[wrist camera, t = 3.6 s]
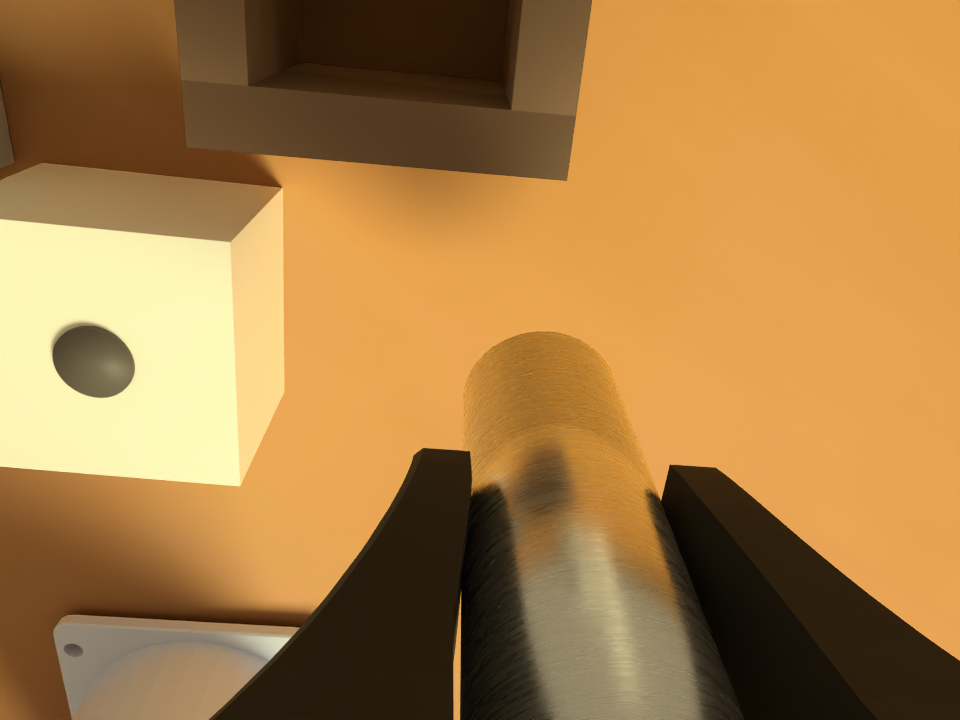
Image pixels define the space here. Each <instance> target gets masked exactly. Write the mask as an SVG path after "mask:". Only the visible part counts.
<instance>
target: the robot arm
mask: <svg viewBox="0 0 960 720" xmlns="http://www.w3.org/2000/svg"><path fill="white" fill-rule="evenodd" d="M471 488H472V467H471V456H470V451H458V450H443V449H428V448H423V449H421V450H420V451H419V452H417V453H416V454H415V455H414V456H413V460H412V463H411V466H410V468H409V471H408V473H407V475H406V478H405V480H404V482H403V484H402V486H401V488H400V489H399V491H398V493H397V495H396V497H395V498H394V500H393V502H392V504H391V506H390V507H389V509H388V511H387V512H386V514H385V515H384V517H383V518H382V520H381V521H380V523H379V525H378V526H377V528H376V529H375V531H374V532H373V534H372V535H371V537H370V539H369V540H368V542H367V543H366V545H365V546H364V548H363V549H362V550H361V552H360V553H359V555H358V556H357V557H356V559H355V560H354V561H353V562H352V564H351V565H350V566H349V568H348V569H347V570H346V572H345V573H344V574H343V576H342V577H341V578H340V580H339V581H338V582H337V584H336V585H335V586H334V588H333V589H332V590H331V591H330V593H329V594H328V595H327V597H326V598H325V599H324V600H323V601H322V603H321V604H320V605H319V606H318V607H317V609H316V610H315V611H314V612H313V613H312V615H311V616H310V617H309V618H308V619H307V620H306V621H305V623H304V624H303V625H302V626H301V627H283V626H266V625H248V624H230V623H213V622H195V621H178V620H160V619H143V618H125V617H107V616H90V615H67V616H65V617H62V618H61V620H60V621H59V622H58V624H57V625H56V627H55V628H54V630H53V636H54V641H55V646H56V650H57V655H58V659H59V664H60V668H61V673H62V677H63V682H64V686H65V691H66V695H67V700H68V704H69V709H70V713H71V718H72V720H453V660H454V653H455V645H456V635H457V625H458V615H459V605H460V596H461V582H462V572H463V563H464V555H465V547H466V537H467V527H468V517H469V507H470V498H471ZM661 503H662V506H663V508H664V511H665V514H666V516H667V519H668V521H669V524H670V527H671V529H672V532H673V535H674V537H675V540H676V542H677V545H678V548H679V550H680V553H681V555H682V558H683V561H684V563H685V566H686V568H687V571H688V574H689V576H690V579H691V581H692V584H693V587H694V589H695V592H696V594H697V597H698V600H699V602H700V605H701V607H702V610H703V613H704V615H705V618H706V621H707V623H708V626H709V628H710V631H711V634H712V636H713V639H714V641H715V644H716V647H717V649H718V652H719V654H720V657H721V660H722V662H723V665H724V667H725V670H726V673H727V675H728V678H729V680H730V683H731V686H732V688H733V691H734V693H735V696H736V699H737V701H738V704H739V706H740V709H741V712H742V714H743V717H744V720H960V661H959V660H958V659H956V658H955V657H953V656H952V655H950V654H949V653H948V652H946V651H945V650H943V649H942V648H940V647H939V646H938V645H936V644H935V643H933V642H932V641H931V640H929V639H928V638H926V637H925V636H924V635H922V634H921V633H919V632H918V631H917V630H915V629H914V628H913V627H911V626H910V625H909V624H907V623H906V622H905V621H903V620H902V619H901V618H900V617H898V616H897V615H896V614H894V613H893V612H892V611H890V610H889V609H888V608H886V607H885V606H884V605H882V604H881V603H880V602H878V601H877V600H876V599H874V598H873V597H872V596H870V595H869V594H868V593H867V592H865V591H864V590H863V589H862V588H860V587H859V586H858V585H857V584H855V583H854V582H853V581H852V580H850V579H849V578H848V577H846V576H845V575H844V574H843V573H842V572H840V571H839V570H838V569H837V568H835V567H834V566H833V565H832V564H831V563H829V562H828V561H827V560H826V559H824V558H823V557H822V556H821V555H820V554H818V553H817V552H816V551H815V550H814V549H812V548H811V547H810V546H809V545H808V544H807V543H805V542H804V541H803V540H802V539H801V538H799V537H798V536H797V535H796V534H795V533H794V532H792V531H791V530H790V529H789V528H788V527H787V526H785V525H784V524H783V523H782V522H781V521H780V520H778V519H777V518H776V517H775V516H774V515H773V514H771V513H770V512H769V511H768V510H767V509H766V508H764V507H763V506H762V505H761V504H760V503H759V502H757V501H756V500H755V499H754V498H753V497H752V496H750V495H749V494H748V493H747V492H746V491H744V490H743V489H742V488H741V487H740V486H738V485H737V484H736V483H735V482H734V481H732V480H731V479H730V478H729V477H727V476H726V475H725V474H723V473H722V472H721V471H719V470H718V469H717V468H711V467H696V466H682V465H670V467H669V471H668V475H667V479H666V483H665V488H664V492H663V496H662V500H661Z"/></svg>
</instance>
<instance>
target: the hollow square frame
mask: <svg viewBox="0 0 960 720" xmlns="http://www.w3.org/2000/svg"><path fill="white" fill-rule="evenodd" d="M174 4H175V16H176V28H177V40H178V53H179V65H180V77H181V89H182V101H183V113H184V126H185V138H186V148H197V149H208V150H220V151H231V152H243V153H254V154H265V155H277V156H288V157H300V158H311V159H323V160H334V161H345V162H357V163H368V164H380V165H391V166H403V167H414V168H425V169H437V170H448V171H460V172H471V173H483V174H494V175H505V176H517V177H528V178H540V179H551V180H563V181H567V176H568V169H569V162H570V155H571V147H572V140H573V133H574V126H575V119H576V112H577V105H578V97H579V90H580V83H581V76H582V69H583V62H584V55H585V48H586V40H587V33H588V26H589V19H590V12H591V5H592V0H510V2H509V12H508V22H507V33H506V43H505V54H504V64H503V74H502V81H492V80H481V79H470V78H460V77H449V76H438V75H428V74H417V73H406V72H396V71H385V70H374V69H364V68H353V67H342V66H332V65H321V64H310V63H302V53H301V0H174Z"/></svg>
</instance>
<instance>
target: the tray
mask: <svg viewBox="0 0 960 720" xmlns="http://www.w3.org/2000/svg"><path fill="white" fill-rule="evenodd" d="M14 163H15V162H14V156H13V151H12V145H11V140H10V134H9V129H8V124H7V118H6V113H5V107H4V102H3V96H2V91H1V85H0V169H1V168H3V167H6V166H9V165H11V164H14Z"/></svg>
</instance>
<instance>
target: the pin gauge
mask: <svg viewBox="0 0 960 720" xmlns="http://www.w3.org/2000/svg"><path fill="white" fill-rule="evenodd" d="M463 451H470V456H471V467H472V488H471V498H470V507H469V517H468V527H467V537H466V547H465V555H464V563H463V572H462V582H461V690H460V720H744V717H743V714H742V712H741V709H740V706H739V704H738V701H737V699H736V696H735V693H734V691H733V688H732V686H731V683H730V680H729V678H728V675H727V673H726V670H725V667H724V665H723V662H722V660H721V657H720V654H719V652H718V649H717V647H716V644H715V641H714V639H713V636H712V634H711V631H710V628H709V626H708V623H707V621H706V618H705V615H704V613H703V610H702V607H701V605H700V602H699V600H698V597H697V594H696V592H695V589H694V587H693V584H692V581H691V579H690V576H689V574H688V571H687V568H686V566H685V563H684V561H683V558H682V555H681V553H680V550H679V548H678V545H677V542H676V540H675V537H674V535H673V532H672V529H671V527H670V524H669V521H668V519H667V516H666V514H665V511H664V508H663V506H662V503H661V501H660V498H659V495H658V493H657V490H656V488H655V485H654V482H653V480H652V477H651V475H650V472H649V469H648V467H647V464H646V462H645V459H644V456H643V454H642V451H641V449H640V446H639V443H638V441H637V438H636V436H635V433H634V430H633V428H632V425H631V422H630V420H629V417H628V415H627V412H626V409H625V407H624V404H623V402H622V399H621V396H620V394H619V391H618V389H617V386H616V383H615V381H614V378H613V376H612V373H611V371H610V369H609V367H608V365H607V364H606V362H605V361H604V360H603V358H602V357H601V356H600V355H599V354H598V353H597V352H596V351H595V350H594V349H593V348H591V347H590V346H589V345H587V344H586V343H584V342H582V341H580V340H578V339H576V338H574V337H571V336H568V335H564V334H561V333H554V332H531V333H525V334H521V335H517V336H514V337H512V338H509V339H507V340H505V341H503V342H501V343H499V344H497V345H496V346H494V347H493V348H491V349H490V350H489V351H488V352H487V353H485V354H484V355H483V356H482V357H481V359H480V360H479V361H478V362H477V363H476V365H475V366H474V368H473V369H472V371H471V373H470V375H469V377H468V379H467V382H466V385H465V389H464V394H463Z"/></svg>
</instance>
